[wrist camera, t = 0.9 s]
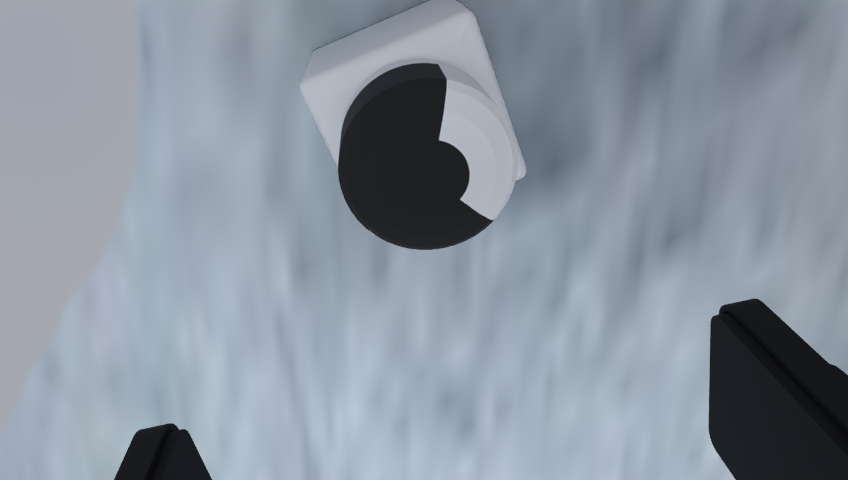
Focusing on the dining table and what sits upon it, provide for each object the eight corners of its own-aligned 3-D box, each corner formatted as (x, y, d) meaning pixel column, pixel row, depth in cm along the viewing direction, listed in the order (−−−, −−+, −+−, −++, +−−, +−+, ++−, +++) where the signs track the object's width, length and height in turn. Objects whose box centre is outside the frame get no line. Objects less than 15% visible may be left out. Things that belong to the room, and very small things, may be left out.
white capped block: (369, 181, 33) (374, 302, 22) (308, 51, 30) (279, 119, 19) (497, 129, 32) (565, 228, 21) (448, -10, 29) (500, 25, 18)
